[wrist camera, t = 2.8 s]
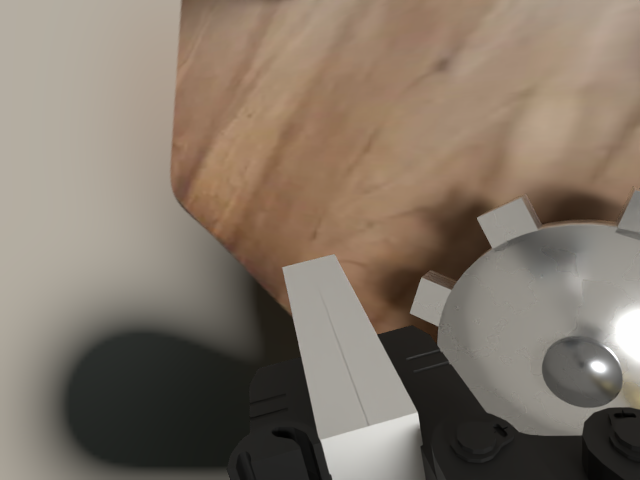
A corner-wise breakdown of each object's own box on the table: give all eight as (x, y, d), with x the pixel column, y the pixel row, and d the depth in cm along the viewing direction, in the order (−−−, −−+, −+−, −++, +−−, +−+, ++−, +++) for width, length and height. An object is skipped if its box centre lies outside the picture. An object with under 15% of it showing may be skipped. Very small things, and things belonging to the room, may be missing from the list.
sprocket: (369, 342, 36) (258, 442, 25) (561, 115, 27) (529, 101, 15) (600, 563, 30) (599, 833, 19) (955, 377, 21) (1413, 694, 9)
